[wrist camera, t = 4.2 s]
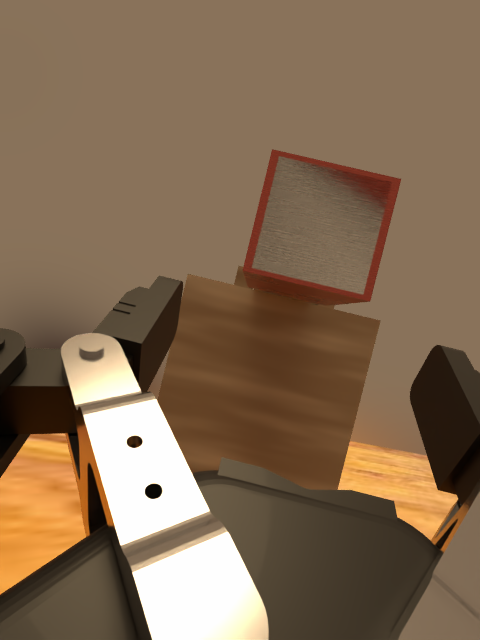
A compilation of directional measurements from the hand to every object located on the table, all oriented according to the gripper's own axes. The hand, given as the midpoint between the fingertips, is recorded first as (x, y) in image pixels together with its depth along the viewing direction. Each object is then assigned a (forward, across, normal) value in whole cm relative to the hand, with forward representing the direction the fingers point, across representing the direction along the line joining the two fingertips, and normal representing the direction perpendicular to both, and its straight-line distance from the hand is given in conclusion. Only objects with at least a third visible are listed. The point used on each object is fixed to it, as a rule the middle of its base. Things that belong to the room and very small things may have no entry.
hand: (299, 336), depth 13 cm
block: (+16, 0, +7) cm, 18 cm away
